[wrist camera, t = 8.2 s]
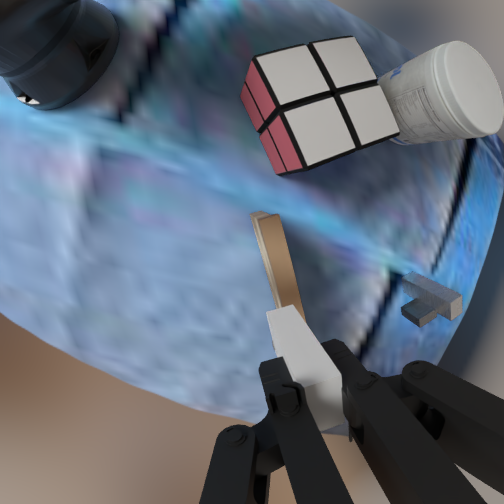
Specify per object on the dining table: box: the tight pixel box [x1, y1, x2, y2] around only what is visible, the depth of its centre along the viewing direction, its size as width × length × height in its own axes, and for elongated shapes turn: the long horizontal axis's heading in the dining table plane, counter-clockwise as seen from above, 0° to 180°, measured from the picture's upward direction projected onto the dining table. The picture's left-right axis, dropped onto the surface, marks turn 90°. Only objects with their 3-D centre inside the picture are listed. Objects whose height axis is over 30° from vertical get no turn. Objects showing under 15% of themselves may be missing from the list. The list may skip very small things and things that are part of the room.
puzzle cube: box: [240, 36, 400, 176], centre depth 24 cm, size 10×10×10 cm
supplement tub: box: [377, 41, 504, 145], centre depth 23 cm, size 10×10×15 cm
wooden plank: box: [250, 211, 306, 323], centre depth 27 cm, size 14×2×8 cm, turn 16°
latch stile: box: [401, 271, 462, 327], centre depth 30 cm, size 3×5×10 cm
